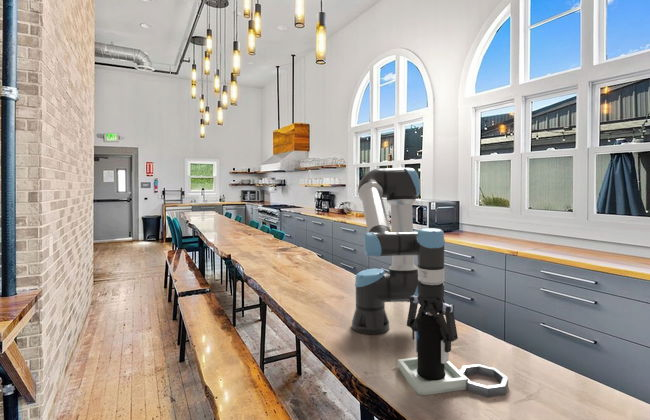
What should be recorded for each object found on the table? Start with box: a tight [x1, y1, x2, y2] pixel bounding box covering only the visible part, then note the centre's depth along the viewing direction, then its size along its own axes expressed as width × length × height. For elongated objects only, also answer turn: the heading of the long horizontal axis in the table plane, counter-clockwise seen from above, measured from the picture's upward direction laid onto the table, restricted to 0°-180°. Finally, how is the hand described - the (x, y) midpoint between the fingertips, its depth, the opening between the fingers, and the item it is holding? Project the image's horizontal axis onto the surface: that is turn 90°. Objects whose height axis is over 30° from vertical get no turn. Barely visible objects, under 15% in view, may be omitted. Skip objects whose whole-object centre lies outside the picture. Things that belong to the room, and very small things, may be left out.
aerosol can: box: [417, 312, 445, 380], centre depth 107 cm, size 8×8×20 cm
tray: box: [397, 356, 469, 397], centre depth 107 cm, size 15×15×3 cm
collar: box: [459, 363, 509, 398], centre depth 104 cm, size 12×12×2 cm
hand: (431, 356), depth 107 cm, fingers open, 8 cm apart
